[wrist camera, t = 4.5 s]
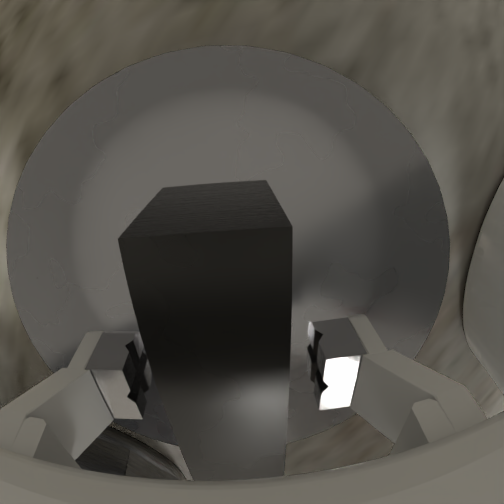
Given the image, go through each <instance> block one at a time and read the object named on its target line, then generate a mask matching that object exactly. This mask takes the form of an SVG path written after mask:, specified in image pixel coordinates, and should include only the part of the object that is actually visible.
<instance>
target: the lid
mask: <svg viewBox="0 0 504 504" xmlns="http://www.w3.org/2000/svg"><path fill="white" fill-rule="evenodd" d="M6 248H7V265H8V275H9V280H10V285H11V290H12V295H13V299H14V302H15V305H16V308H17V310H18V313H19V316H20V319H21V321H22V324H23V326H24V328H25V330H26V332H27V334H28V336H29V338H30V340H31V342H32V343H33V345H34V347H35V348H36V350H37V351H38V353H39V354H40V356H41V357H42V359H43V360H44V362H45V363H46V364H47V366H48V367H49V368H50V369H51V370H52V372H53V373H55V372H57V371H58V370H60V369H61V368H67V367H68V365H69V364H70V362H71V360H72V358H73V356H74V354H75V352H76V350H77V349H78V347H79V345H80V343H81V341H82V339H83V338H84V336H85V334H86V333H87V332H89V331H128V332H139V333H140V334H141V338H142V341H143V345H144V347H143V350H142V352H143V353H145V354H146V355H147V358H148V361H149V364H150V368H151V385H150V389H149V390H148V391H147V392H146V393H144V395H145V397H146V400H147V403H146V407H145V411H144V416H143V419H120V418H113V419H114V420H113V422H115V423H117V424H119V425H121V426H123V427H125V428H127V429H129V430H131V431H133V432H136V433H138V434H141V435H143V436H146V437H149V438H152V439H154V440H158V441H161V442H165V443H169V444H173V445H177V446H179V447H180V450H181V452H182V455H183V457H184V459H185V462H186V464H187V466H188V469H189V471H190V473H191V475H192V478H193V480H194V481H223V480H246V479H260V478H271V477H281V476H284V467H285V453H286V444H288V443H291V442H294V441H298V440H301V439H304V438H308V437H310V436H313V435H315V434H318V433H320V432H323V431H325V430H327V429H329V428H331V427H333V426H335V425H337V424H339V423H341V422H343V421H345V420H347V419H348V418H350V417H352V416H353V415H355V414H356V412H355V411H354V410H353V409H352V408H350V406H347V407H341V408H334V409H327V410H319V409H318V406H317V402H316V399H315V395H314V384H315V383H313V382H312V381H311V380H310V378H309V374H308V369H307V358H306V356H307V347H308V346H309V344H310V340H309V337H308V326H309V322H313V321H322V320H330V319H338V318H346V317H348V316H355V315H361V314H364V315H366V316H367V318H368V320H369V321H370V323H371V324H372V326H373V328H374V329H375V331H376V332H377V334H378V336H379V337H380V339H381V340H382V342H383V344H384V345H385V347H386V348H387V350H388V351H389V350H394V351H396V352H398V353H400V354H402V355H404V356H406V357H408V358H410V359H412V360H414V358H415V357H416V355H417V353H418V352H419V350H420V349H421V347H422V346H423V344H424V342H425V341H426V339H427V337H428V335H429V333H430V331H431V329H432V326H433V324H434V322H435V320H436V318H437V315H438V312H439V309H440V306H441V303H442V300H443V296H444V293H445V287H446V282H447V276H448V271H449V253H450V239H449V229H448V220H447V214H446V210H445V206H444V202H443V198H442V194H441V191H440V187H439V185H438V183H437V180H436V178H435V176H434V173H433V171H432V169H431V167H430V164H429V162H428V160H427V158H426V157H425V155H424V153H423V152H422V150H421V149H420V147H419V146H418V144H417V142H416V141H415V139H414V138H413V136H412V135H411V133H410V132H409V131H408V130H407V129H406V127H405V126H404V125H403V124H402V123H401V122H400V121H399V120H398V118H397V117H396V116H395V115H394V114H393V113H392V112H391V111H390V110H389V109H388V108H387V107H386V106H385V105H384V104H383V103H381V102H380V101H379V100H378V99H377V98H375V97H374V96H373V95H372V94H370V93H369V92H368V91H366V90H365V89H364V88H363V87H361V86H360V85H359V84H357V83H355V82H354V81H352V80H350V79H348V78H346V77H345V76H343V75H341V74H339V73H337V72H336V71H334V70H332V69H330V68H328V67H326V66H324V65H321V64H319V63H316V62H313V61H311V60H308V59H305V58H302V57H299V56H296V55H293V54H290V53H287V52H282V51H276V50H270V49H265V48H258V47H252V46H202V47H195V48H189V49H183V50H178V51H173V52H168V53H164V54H161V55H158V56H155V57H152V58H149V59H146V60H144V61H141V62H138V63H136V64H133V65H130V66H128V67H126V68H124V69H122V70H120V71H119V72H117V73H115V74H113V75H111V76H110V77H108V78H106V79H104V80H103V81H101V82H99V83H98V84H96V85H95V86H93V87H92V88H91V89H89V90H88V91H87V92H86V93H84V94H83V95H82V96H81V97H79V98H78V99H77V100H76V101H75V102H73V103H72V104H71V105H70V106H69V107H68V108H67V109H66V110H65V111H64V112H63V113H62V114H61V115H60V116H59V117H58V118H57V120H56V121H55V122H54V123H53V124H52V125H51V127H50V128H49V129H48V130H47V131H46V132H45V134H44V135H43V137H42V138H41V140H40V141H39V143H38V145H37V146H36V148H35V149H34V151H33V153H32V154H31V156H30V158H29V159H28V161H27V163H26V166H25V168H24V170H23V173H22V175H21V177H20V180H19V182H18V185H17V187H16V190H15V194H14V198H13V202H12V206H11V210H10V215H9V221H8V231H7V244H6Z"/></svg>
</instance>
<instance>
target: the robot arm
mask: <svg viewBox="0 0 504 504" xmlns="http://www.w3.org/2000/svg"><path fill="white" fill-rule="evenodd" d="M308 337H309V340H310V344H309V346H308V347H307V356H306V358H307V369H308V374H309V378H310V380H311V381H312V382H313V383H315V384H314V395H315V399H316V402H317V406H318V409H319V410H327V409H334V408H341V407H347V406H350V408H352V409H353V410H354V411H355V412H356V413H358V414H359V415H360V416H361V417H362V418H364V419H365V420H366V421H367V422H368V423H370V424H371V425H372V426H373V427H375V428H376V429H377V430H378V431H379V432H381V433H382V434H383V435H384V436H386V437H387V438H388V439H389V440H391V441H392V442H393V443H394V446H393V448H392V450H391V452H390V453H389V455H388V456H386V457H382V458H378V459H374V460H370V461H366V462H362V463H358V464H353V465H349V466H344V467H339V468H334V469H329V470H323V471H317V472H311V473H304V474H297V475H290V476H281V477H271V478H260V479H246V480H223V481H187V480H165V479H151V478H140V477H130V476H122V475H114V474H107V473H101V472H95V471H89V470H84V469H82V468H81V467H80V466H79V465H78V464H77V462H76V461H75V460H76V459H77V458H78V457H79V456H80V455H81V454H82V452H83V451H84V450H85V449H86V448H87V447H88V446H89V445H90V444H91V443H92V442H93V441H94V440H95V439H96V438H97V437H98V436H99V435H100V434H101V433H102V432H103V431H104V429H105V428H106V427H107V426H108V425H109V424H110V423H111V422H112V421H113V420H114V419H113V418H120V419H143V416H144V411H145V407H146V403H147V400H146V397H145V395H144V393H146V392H147V391H148V390H149V389H150V385H151V368H150V364H149V361H148V358H147V355H146V354H145V353H143V352H142V350H143V347H144V345H143V341H142V338H141V334H140V333H139V332H128V331H89V332H87V333H86V334H85V336H84V338H83V339H82V341H81V343H80V345H79V347H78V349H77V350H76V352H75V354H74V356H73V358H72V360H71V362H70V364H69V365H68V367H67V368H61V369H60V370H58V371H57V372H55V373H54V374H52V375H51V376H49V377H48V378H46V379H45V380H43V381H42V382H40V383H39V384H37V385H36V386H34V387H33V388H31V389H30V390H28V391H27V392H25V393H24V394H22V395H21V396H19V397H17V398H16V399H14V400H13V401H11V402H10V403H8V404H7V405H5V406H4V407H2V408H1V410H0V504H504V411H503V412H501V413H499V414H497V415H495V416H493V417H491V418H489V419H487V417H486V416H485V414H484V413H483V411H482V410H481V408H480V407H479V405H478V404H477V402H476V401H475V399H474V398H473V396H472V395H471V393H470V392H469V391H468V389H467V388H466V386H465V385H463V384H461V383H459V382H457V381H454V380H452V379H450V378H448V377H446V376H444V375H442V374H440V373H438V372H436V371H434V370H432V369H430V368H428V367H426V366H424V365H422V364H420V363H418V362H416V361H414V360H412V359H410V358H408V357H406V356H404V355H402V354H400V353H398V352H396V351H394V350H389V351H388V350H387V348H386V347H385V345H384V344H383V342H382V340H381V339H380V337H379V336H378V334H377V332H376V331H375V329H374V328H373V326H372V324H371V323H370V321H369V320H368V318H367V316H366V315H364V314H361V315H355V316H348V317H346V318H338V319H330V320H322V321H313V322H309V326H308Z"/></svg>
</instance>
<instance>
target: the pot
mask: <svg viewBox="0 0 504 504" xmlns="http://www.w3.org/2000/svg"><path fill="white" fill-rule="evenodd" d="M75 461H76V462H77V464H78V465H79V466H80V467H81V468H82V469H84V470H89V471H95V472H101V473H107V474H114V475H122V476H130V477H140V478H151V479H165V480H186V479H185V477H184V475H183V474H182V472H181V471H180V470H179V469H178V468H177V467H176V466H175V465H174V464H173V463H172V462H171V461H169V460H168V459H167V458H166V457H164V456H163V455H161V454H160V453H158V452H157V451H155V450H154V449H152V448H150V447H149V446H147V445H146V444H144V443H142V442H140V441H138V440H136V439H134V438H132V437H131V436H128V435H126V434H124V433H122V432H120V431H118V430H116V429H114V428H111V427H109V426H107V427H106V428H105V429H104V431H103V432H102V433H101V434H100V435H99V436H98V437H97V438H96V439H95V440H94V441H93V442H92V443H91V444H90V445H89V446H88V447H87V448H86V449H85V450H84V451H83V452H82V454H81V455H80V456H79V457H78V458H77V459H76V460H75Z"/></svg>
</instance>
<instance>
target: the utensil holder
mask: <svg viewBox="0 0 504 504" xmlns="http://www.w3.org/2000/svg"><path fill="white" fill-rule="evenodd" d="M463 325H464V332H465V337H466V340H467V343H468V345H469V347H470V349H471V351H472V352H473V353H474V355H475V356H476V357H477V359H478V360H479V362H480V363H481V364H482V366H483V367H484V368H485V370H486V371H487V372H488V374H489V375H490V376H491V378H492V379H493V381H494V382H495V384H496V385H497V386H498V388H499V389H500V391H501V392H502V393H503V395H504V178H503V180H502V182H501V184H500V186H499V188H498V190H497V192H496V194H495V196H494V198H493V201H492V203H491V205H490V207H489V210H488V212H487V214H486V217H485V219H484V222H483V225H482V227H481V230H480V233H479V237H478V240H477V243H476V246H475V249H474V253H473V257H472V260H471V264H470V268H469V271H468V276H467V282H466V287H465V295H464V303H463Z"/></svg>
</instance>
